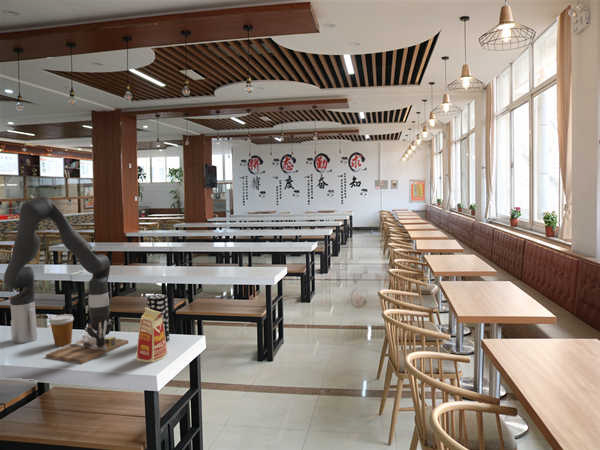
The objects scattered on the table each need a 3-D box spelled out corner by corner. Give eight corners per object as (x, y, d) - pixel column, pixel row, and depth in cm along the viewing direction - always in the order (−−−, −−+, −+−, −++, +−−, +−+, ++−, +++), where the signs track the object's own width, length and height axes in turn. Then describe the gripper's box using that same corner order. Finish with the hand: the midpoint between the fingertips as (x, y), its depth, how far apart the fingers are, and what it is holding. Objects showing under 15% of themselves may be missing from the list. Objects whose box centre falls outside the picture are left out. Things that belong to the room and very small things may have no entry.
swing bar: (80, 345, 187) (80, 336, 186) (88, 341, 190) (87, 333, 190) (109, 348, 181) (109, 339, 181) (116, 345, 185) (116, 336, 185)
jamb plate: (46, 357, 181) (45, 342, 180) (93, 338, 203) (92, 325, 202) (83, 363, 173) (82, 348, 173) (128, 342, 195) (127, 329, 195)
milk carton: (136, 360, 175) (133, 310, 173) (151, 352, 184) (148, 304, 182) (155, 363, 172) (152, 312, 170) (170, 354, 181) (167, 305, 179)
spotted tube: (163, 345, 192) (161, 299, 190) (145, 344, 193) (143, 298, 192) (172, 338, 200) (170, 294, 198) (155, 337, 201) (153, 294, 200)
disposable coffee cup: (76, 344, 195) (75, 317, 194) (52, 349, 190) (50, 321, 189) (73, 338, 203) (72, 312, 202) (49, 343, 197) (47, 316, 196)
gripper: (90, 309, 173) (91, 353, 174) (119, 301, 184) (120, 343, 185) (77, 306, 176) (79, 350, 177) (107, 300, 188) (108, 340, 189)
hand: (100, 346), depth 181 cm, fingers closed
